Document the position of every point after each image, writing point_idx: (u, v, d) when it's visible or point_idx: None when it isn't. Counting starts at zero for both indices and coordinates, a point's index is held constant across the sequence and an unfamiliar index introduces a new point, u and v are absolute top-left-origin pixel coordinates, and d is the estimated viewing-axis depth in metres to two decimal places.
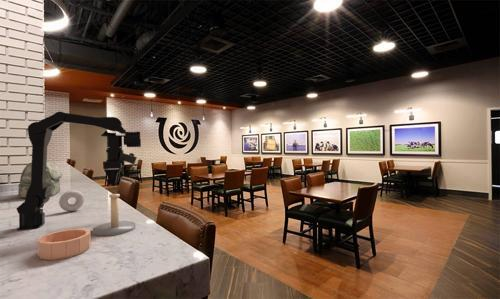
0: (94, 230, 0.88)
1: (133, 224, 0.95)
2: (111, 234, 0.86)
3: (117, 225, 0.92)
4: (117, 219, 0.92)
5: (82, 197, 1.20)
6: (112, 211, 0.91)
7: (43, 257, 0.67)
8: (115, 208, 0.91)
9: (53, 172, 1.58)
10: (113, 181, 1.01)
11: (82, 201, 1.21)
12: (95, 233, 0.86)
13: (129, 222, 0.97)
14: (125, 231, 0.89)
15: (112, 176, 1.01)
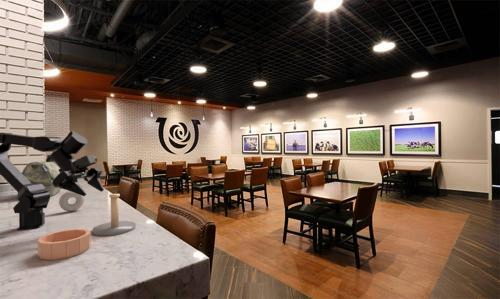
0: (94, 230, 0.88)
1: (133, 224, 0.95)
2: (111, 234, 0.86)
3: (117, 225, 0.92)
4: (117, 219, 0.92)
5: (82, 197, 1.20)
6: (112, 211, 0.91)
7: (43, 257, 0.67)
8: (115, 208, 0.91)
9: (53, 172, 1.58)
10: (80, 191, 0.88)
11: (82, 201, 1.21)
12: (95, 233, 0.86)
13: (129, 222, 0.97)
14: (125, 231, 0.89)
15: (74, 188, 0.88)
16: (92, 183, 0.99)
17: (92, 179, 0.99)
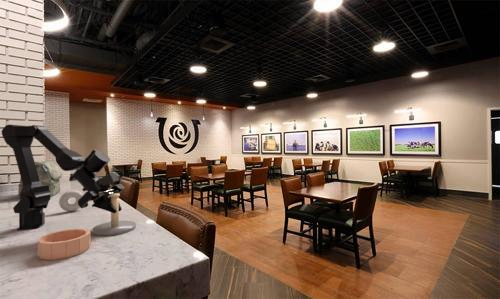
0: (94, 230, 0.88)
1: (133, 224, 0.95)
2: (111, 234, 0.86)
3: (117, 225, 0.92)
4: (117, 219, 0.92)
5: None
6: None
7: (43, 257, 0.67)
8: (115, 208, 0.91)
9: (53, 172, 1.58)
10: (111, 209, 0.90)
11: None
12: (95, 233, 0.86)
13: (129, 222, 0.97)
14: (125, 231, 0.89)
15: (105, 205, 0.90)
16: None
17: (109, 199, 0.95)
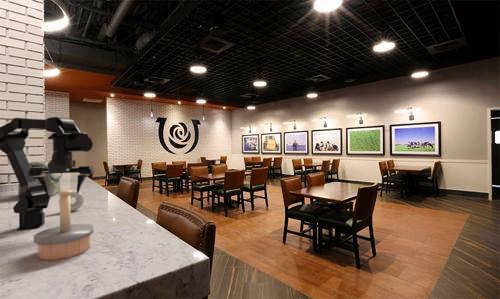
0: (40, 232, 0.72)
1: (84, 232, 0.72)
2: (40, 242, 0.66)
3: (66, 230, 0.72)
4: (66, 223, 0.72)
5: (82, 197, 1.20)
6: (60, 212, 0.72)
7: (43, 257, 0.67)
8: (62, 208, 0.72)
9: None
10: None
11: (82, 201, 1.21)
12: None
13: (88, 228, 0.76)
14: (58, 241, 0.67)
15: None
16: None
17: None
